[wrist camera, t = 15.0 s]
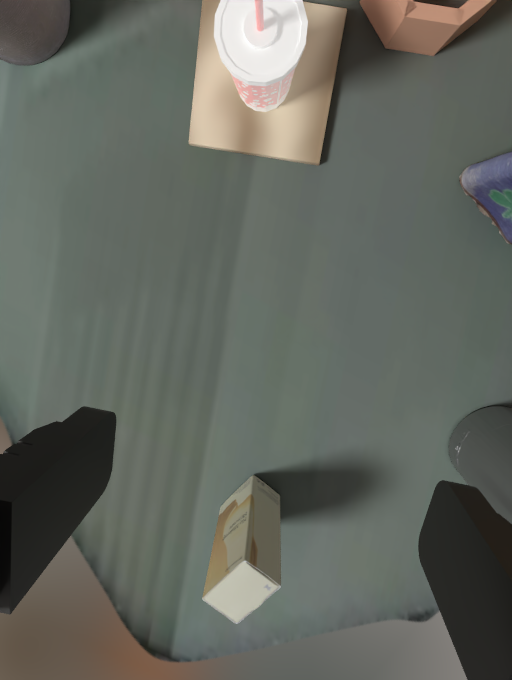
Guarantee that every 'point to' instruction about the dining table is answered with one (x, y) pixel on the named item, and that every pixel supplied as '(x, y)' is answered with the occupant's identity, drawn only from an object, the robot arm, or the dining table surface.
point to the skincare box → (245, 551)
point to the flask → (492, 190)
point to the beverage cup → (261, 47)
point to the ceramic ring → (421, 23)
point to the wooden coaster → (282, 122)
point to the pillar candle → (32, 29)
